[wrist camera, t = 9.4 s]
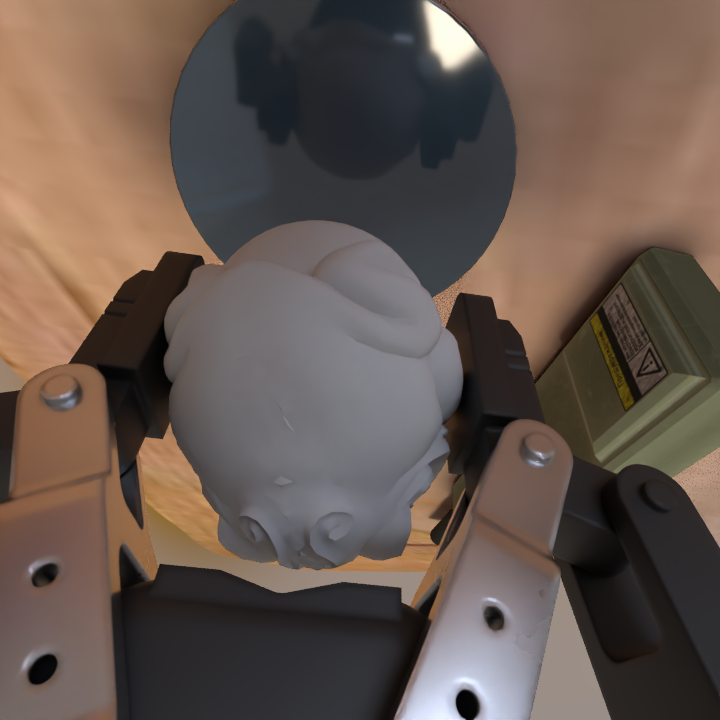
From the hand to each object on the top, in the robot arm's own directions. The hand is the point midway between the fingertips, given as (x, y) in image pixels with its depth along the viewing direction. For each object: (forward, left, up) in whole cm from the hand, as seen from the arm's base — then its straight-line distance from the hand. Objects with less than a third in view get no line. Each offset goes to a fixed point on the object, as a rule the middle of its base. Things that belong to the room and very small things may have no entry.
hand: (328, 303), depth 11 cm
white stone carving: (0, 0, -1) cm, 1 cm away
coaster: (0, 0, -6) cm, 6 cm away
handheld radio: (+13, +11, -6) cm, 18 cm away
